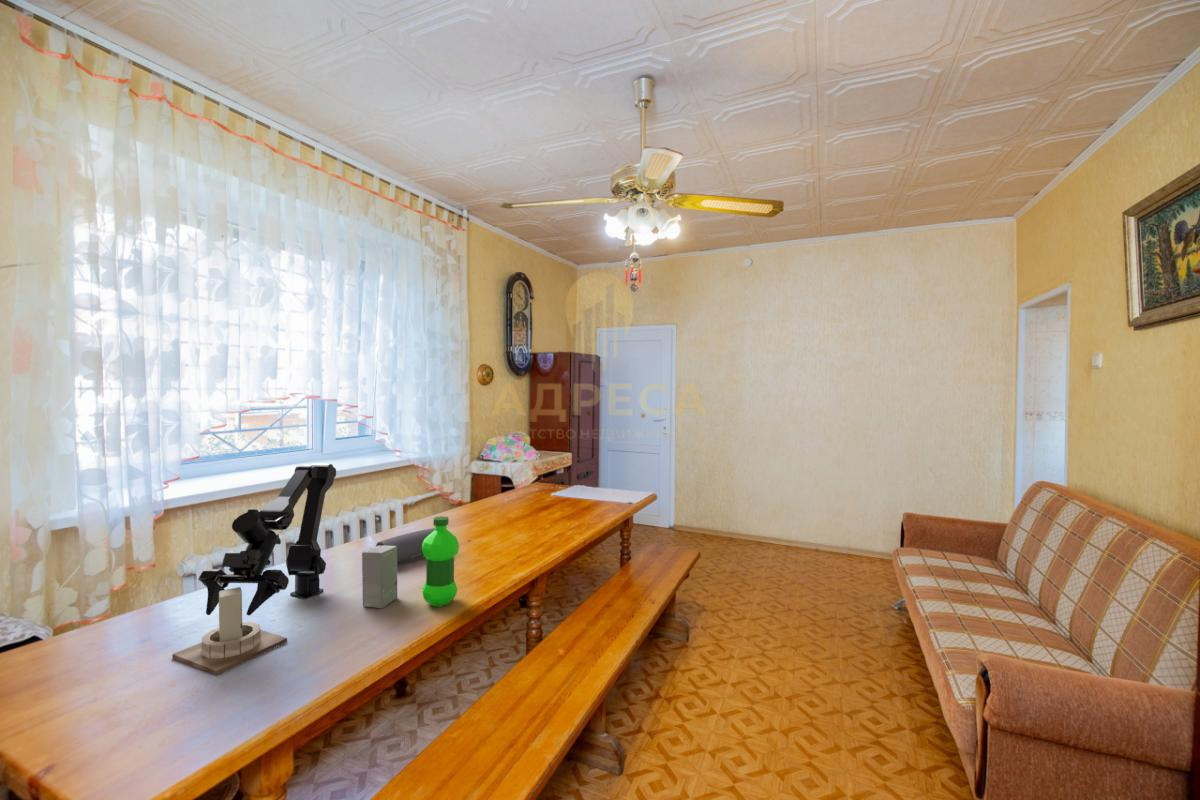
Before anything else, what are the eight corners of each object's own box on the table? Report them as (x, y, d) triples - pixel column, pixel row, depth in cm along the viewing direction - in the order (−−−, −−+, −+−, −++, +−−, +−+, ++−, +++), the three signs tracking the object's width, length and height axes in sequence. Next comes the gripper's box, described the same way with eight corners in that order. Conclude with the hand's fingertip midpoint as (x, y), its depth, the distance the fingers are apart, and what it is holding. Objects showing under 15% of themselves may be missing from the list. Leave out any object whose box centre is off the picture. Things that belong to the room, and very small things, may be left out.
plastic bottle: (438, 613, 142) (439, 524, 142) (413, 604, 148) (414, 518, 147) (465, 601, 151) (466, 517, 150) (440, 593, 156) (442, 512, 156)
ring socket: (172, 658, 117) (172, 641, 116) (244, 628, 131) (244, 613, 131) (216, 675, 110) (216, 657, 110) (286, 642, 125) (287, 625, 125)
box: (243, 647, 120) (242, 593, 120) (219, 652, 117) (219, 597, 117) (241, 638, 124) (241, 585, 124) (218, 643, 122) (218, 590, 121)
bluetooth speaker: (428, 550, 197) (429, 524, 196) (444, 555, 191) (444, 528, 191) (373, 566, 178) (373, 537, 178) (388, 572, 173) (388, 543, 172)
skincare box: (382, 609, 144) (382, 553, 144) (359, 606, 146) (360, 551, 145) (399, 597, 153) (399, 545, 152) (377, 595, 154) (378, 543, 153)
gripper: (204, 536, 124) (166, 600, 113) (282, 537, 124) (253, 601, 114) (226, 557, 132) (193, 619, 121) (300, 558, 132) (274, 620, 122)
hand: (227, 614), depth 119 cm, fingers open, 9 cm apart
